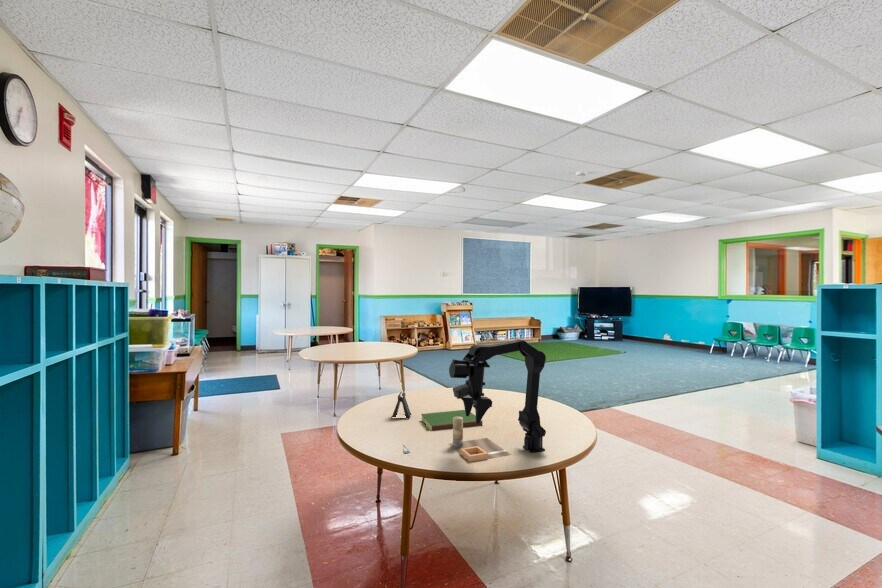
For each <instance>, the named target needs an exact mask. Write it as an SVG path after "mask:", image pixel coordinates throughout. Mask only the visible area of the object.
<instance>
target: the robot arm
mask: <svg viewBox="0 0 882 588" xmlns="http://www.w3.org/2000/svg"><path fill="white" fill-rule="evenodd" d="M514 352H519V353H520V355H521V356H523V358H524V364H525V367H526V370H527V376H526V389H525V399H524V400H525V401H524V402H525V403H524V408H523V409H522V410H518V419H517V420H518V421H519V425H520V427H521V428H522V430H523V431H524V439H523V440H524V441H523V443H524V444H523V445H522V448H523V449H525V450H527V451H529V452H530V453H537V452H544V451H545V450H546V448H545V447H543V441H544V440H543V437H545V436H546V433H547V430H545V428H544V427H543V426H542V425H541V417H540V414H539V413H540V412H539V411H538V403H539V401H538V400H539V392H540V379H541V378H540V377H541V372H542V371H543V370H544V368H545V365H546V360H547V355H546V354H545V353H544V352H543V351H542V350H538V349H537V348H535V347H534V346H532V345H530V344H529V343H528V342H527V341H526V340H523V339H519V338H518V339H515V340H511V341H506V342H500V343H495V344H473V345H471V346H470V348H469V350H468V352H467V353H466V355H465V356H464V357H463V358H462V359H455V358H453V359H452V360H451V362H450V365H449V367H448V372H449V377H450V378H451V379H466V380H465V383H464V384H460V385H458V386H455V387H453V388H452V392H453V396H454V397H455V398H456V399H457V400H459V399H460V400H461V401H462V403H463V407H464V410H465V413H466V416H469V415H470V412H471V413H472V409H474V411H475V413H474V414H475V416H476V424H479V423H480V421H481V420H483V418H484V415H485V414H486V413H487V411H488V410H490V408H492V407H493V401H492V399H491V398H489V397H487V396H485V393H484V392H483V390H484V389H483V387H484V386H486V382H485V381H484V379H485V377H484V376H485V368H490V367H491V365H490V364H489V363H488V360H490V359H492V358H493V357H495V356H499V355H504V354H509V353H510V354H511V353H514ZM467 378H468V379H467Z"/></svg>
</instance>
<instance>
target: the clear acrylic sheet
mask: <svg viewBox="0 0 882 588" xmlns="http://www.w3.org/2000/svg"><path fill="white" fill-rule="evenodd" d="M448 445H449V446H450V447H451V448H452V450H454V451H455V452H456V453H458V454H459V455H460V456H461V457H463V456H462V455H461V454H460V449H463V448H469V447H475V446H479V447H480V448H481V449H483V450H484V451H485V452H487V453H488V459H484V460H483V461H485V460H489V459H490V460H491V459H496V458H501V457H507V456H511V455H512V454H511V453H510V452H508V451H507V450H506V449H504V448H503V447H501V446H500V445H498V444H497V443H495V442H494V441H492V440H491V439H490V438H488V437H484V438H478V439H470V440H463V446H462V447H454V446H453V442H452V443H451V442H450V443H448ZM474 454H478V453H471V454H470V455H474ZM463 458H464V460H466V462H468V463H470V462H469V461H468V460H467V459H466V458H465V457H463ZM479 461H481V460H478V461H477V462H479ZM473 462H476V461H472V462H471V463H473Z"/></svg>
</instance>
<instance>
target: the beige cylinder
mask: <svg viewBox="0 0 882 588" xmlns="http://www.w3.org/2000/svg"><path fill="white" fill-rule="evenodd" d="M463 430H464V427H463V417H453V429H452V443H453V446H454V447H462V446H463V441H464V431H463Z"/></svg>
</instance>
